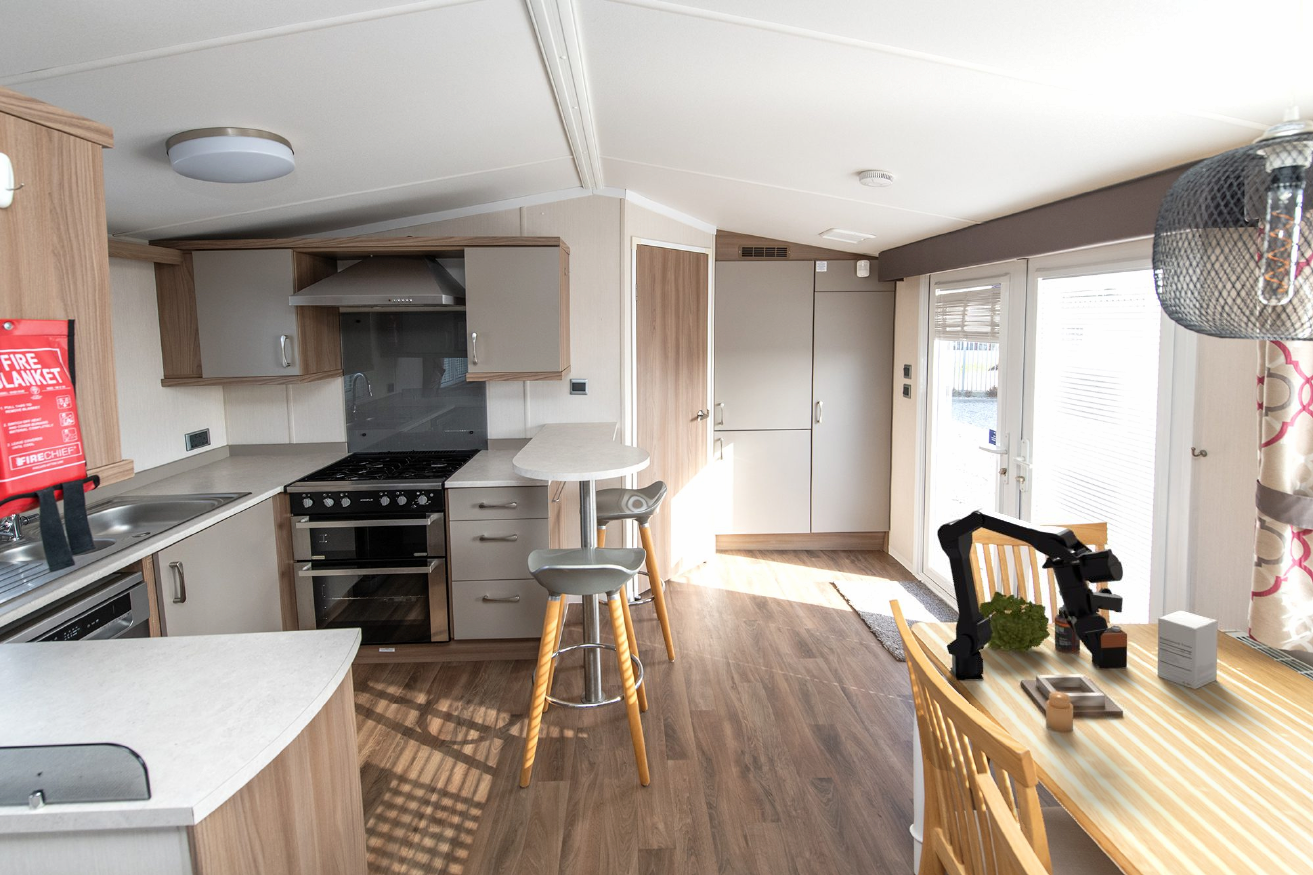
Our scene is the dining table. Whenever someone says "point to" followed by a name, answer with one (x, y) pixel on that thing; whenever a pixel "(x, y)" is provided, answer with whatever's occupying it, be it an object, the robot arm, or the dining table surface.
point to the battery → (1113, 649)
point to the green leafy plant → (1015, 623)
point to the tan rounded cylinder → (1059, 712)
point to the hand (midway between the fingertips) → (1095, 654)
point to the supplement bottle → (1065, 636)
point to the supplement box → (1187, 649)
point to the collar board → (1072, 694)
